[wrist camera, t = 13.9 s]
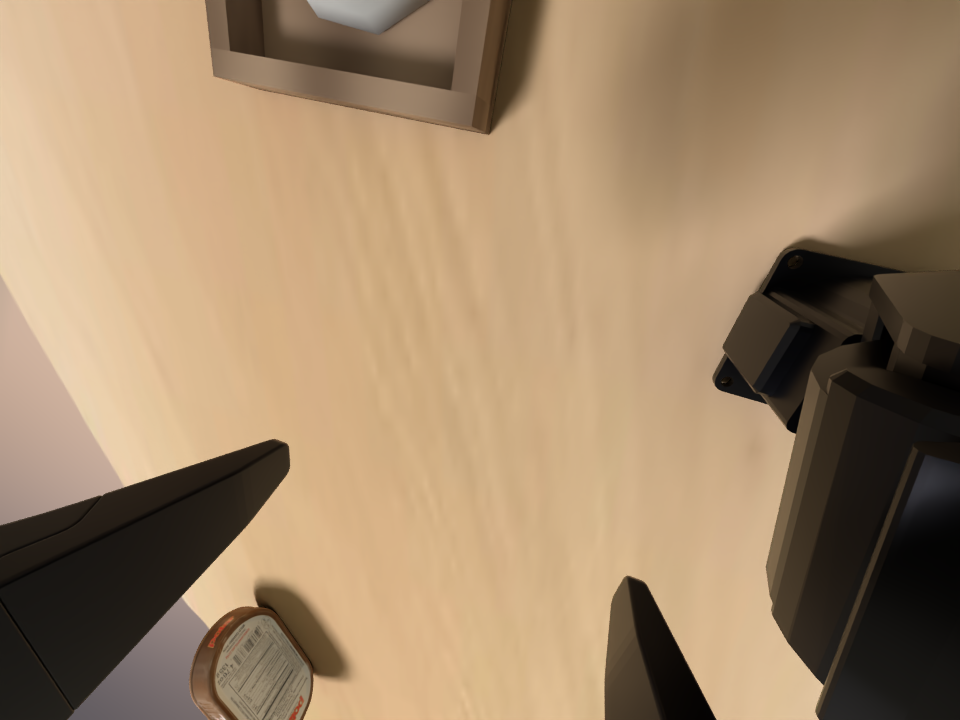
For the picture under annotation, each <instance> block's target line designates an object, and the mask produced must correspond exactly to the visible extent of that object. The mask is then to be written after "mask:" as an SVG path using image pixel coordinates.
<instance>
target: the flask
mask: <svg viewBox="0 0 960 720" xmlns="http://www.w3.org/2000/svg"><path fill="white" fill-rule="evenodd" d="M307 1H308V3H309V4H310V6H311V7H312V9H313V10H314V12H315V13H316V15H317V16H318V18H322V19H325V20H329V21H332V22H336V23H339V24H342V25H346V26H349V27H353V28H356V29H360V30H363V31H367V32H370V33H373V34H377V35H379V34H381V33H382V32H384V31H385V30H387V29H388V28H390V27H391V26H393V25H394V24H396V23H397V22H398V21H400V20H401V19H403V18H404V17H406V16H407V15H409V14H410V13H412V12H413V11H415V10H416V9H418V8H419V7H421V6H422V5H423V4H425V3H426V2H428V1H429V0H307Z"/></svg>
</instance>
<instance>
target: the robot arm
mask: <svg viewBox="0 0 960 720" xmlns="http://www.w3.org/2000/svg"><path fill="white" fill-rule="evenodd" d="M793 256H798V258H799V260H798V263H797V264H796V265H794V266H792V267H788V265H787V263H788V260H789V259H790V258H791V257H793ZM723 350H724V352H725V354H724V356H723V358H722V360H721V362H720V364H719V365H718V367H717V369H716V371H715V373H714V375H713V378H712V379H713V383H714V384H715V386H716V387H717V389H719V390H721V391H724V392H727V393H730V394H734V395H737V396H741V397H744V398H748V399H751V400H755V401H758V402H761V403H765V404H768V405H769V406H770V407H771V409H772V410H773V411H774V413H775V414H776V415H777V416H778V418H779V419H780V420H781V422H782V423H783V424H784V426H785V427H786V428H787V429H788V430H789V431H790V432H792V433H795V434H796V437H795V441H794V446H793V450H792V454H791V459H790V463H789V468H788V472H787V476H786V481H785V485H784V490H783V494H782V498H781V503H780V507H779V512H778V516H777V520H776V525H775V529H774V534H773V538H772V542H771V547H770V551H769V556H768V560H767V564H766V571H767V578H768V586H769V593H770V597H771V600H772V602H773V605H772V609H771V611H772V615H773V617H774V619H775V621H776V623H777V624H778V626H779V628H780V630H781V631H782V633H783V635H784V637H785V639H786V640H787V642H788V643H789V645H790V646H791V647H792V648H793V650H794V651H795V652H796V653H797V655H798V656H799V657H800V658H801V660H802V661H803V662H804V663H805V664H806V666H807V667H808V668H809V669H810V671H811V672H812V673H813V674H814V676H815V677H816V678H817V679H818V680H819V681H820V682H821V683H822V684H823V685H824V687H823V689H822V692H821V695H820V698H819V700H818V703H817V706H816V711H815V712H816V715H817V717H818V718H819V720H960V270H949V271H931V272H912V273H910V272H905V271H901V270H896V269H891V268H887V267H882V266H878V265H873V264H869V263H864V262H860V261H855V260H850V259H846V258H841V257H837V256H832V255H828V254H823V253H819V252H814V251H809V250H805V249H800V248H790V249H786V250H785V251H783V252H782V253H780V255H779V256H778V257H777V259H776V261H775V263H774V264H773V266H772V268H771V270H770V272H769V274H768V275H767V277H766V279H765V281H764V283H763V285H762V286H761V288H760V290H759V292H756V293H754V294H752V295H750V296H749V298H748V300H747V302H746V303H745V305H744V307H743V309H742V311H741V313H740V315H739V316H738V318H737V320H736V322H735V324H734V326H733V328H732V330H731V331H730V333H729V335H728V337H727V339H726V341H725V343H724V344H723ZM725 377H731V380H730V381H729V382H727V383H722V382H721V380H722V379H723V378H725ZM289 469H290V455H289V446H288V444H287V443H284V442H282V441H279V440H276V439H271V440H268V441H265V442H262V443H259V444H256V445H253V446H250V447H246V448H243V449H240V450H237V451H234V452H231V453H228V454H225V455H222V456H219V457H216V458H213V459H210V460H207V461H204V462H201V463H198V464H194V465H191V466H188V467H185V468H182V469H179V470H176V471H173V472H170V473H167V474H164V475H161V476H158V477H155V478H152V479H149V480H145V481H142V482H139V483H136V484H133V485H130V486H127V487H124V488H121V489H118V490H115V491H112V492H109V493H106V494H104V495H103V496H96V497H93V498H90V499H87V500H84V501H81V502H78V503H75V504H71V505H68V506H65V507H62V508H59V509H56V510H52V511H49V512H46V513H43V514H39V515H36V516H32V517H28V518H25V519H22V520H18V521H14V522H11V523H7V524H4V525H0V720H67V719H68V718H69V717H70V716H71V715H72V714H73V713H74V710H75V709H77V708H78V707H79V706H80V705H81V704H82V703H83V702H84V701H85V700H86V699H87V697H88V696H89V695H90V694H91V693H92V692H93V691H94V690H95V689H96V688H97V686H99V684H100V683H101V682H102V681H103V680H104V679H105V678H106V677H107V676H108V675H109V674H110V673H111V671H113V669H114V668H115V667H116V666H117V665H118V664H119V663H120V662H121V661H122V660H123V659H124V658H125V656H126V655H127V654H128V653H129V652H130V651H131V650H132V649H133V648H134V647H135V646H136V645H137V644H138V643H139V642H140V640H141V639H142V638H143V637H144V636H145V635H146V634H147V633H148V632H149V631H150V630H151V629H152V627H153V626H154V625H155V624H156V623H157V622H158V621H159V620H160V619H161V618H162V617H163V616H164V614H166V612H167V611H168V610H169V609H170V608H171V607H172V606H173V605H174V604H175V603H176V602H177V601H178V599H179V598H180V597H181V596H182V595H183V594H184V593H185V592H186V591H187V590H188V589H189V588H190V587H191V586H192V584H193V583H194V582H195V581H196V580H197V579H198V578H199V577H200V576H201V575H202V574H203V573H204V572H205V570H206V569H207V568H208V567H209V566H210V565H211V564H212V563H213V562H214V561H215V560H216V559H217V558H218V557H219V555H220V554H221V553H222V552H223V551H224V550H225V549H226V548H227V547H228V546H229V545H230V544H231V543H232V541H233V540H234V539H235V538H236V537H237V536H238V535H239V534H240V533H241V532H242V531H243V530H244V528H245V527H246V526H247V525H248V524H249V523H250V521H251V520H252V519H253V518H254V517H255V515H256V514H257V513H258V511H259V510H260V509H261V508H262V506H263V505H264V504H265V502H266V501H267V500H268V499H269V497H270V496H271V495H272V493H273V492H274V491H275V489H276V488H277V487H278V486H279V484H280V483H281V482H282V480H283V479H284V478H285V476H286V475H287V473H288V472H289ZM605 720H716V718H715V716H714V714H713V712H712V710H711V708H710V706H709V704H708V702H707V701H706V699H705V697H704V695H703V693H702V691H701V689H700V687H699V685H698V683H697V681H696V679H695V677H694V675H693V673H692V671H691V670H690V668H689V666H688V664H687V662H686V660H685V658H684V656H683V654H682V652H681V650H680V648H679V646H678V644H677V642H676V640H675V639H674V637H673V635H672V633H671V631H670V629H669V627H668V625H667V623H666V621H665V619H664V617H663V615H662V613H661V611H660V609H659V608H658V606H657V604H656V602H655V600H654V598H653V596H652V594H651V592H650V590H649V588H648V586H647V585H646V583H645V582H643V581H642V580H639V579H636V578H634V577H631V576H626V577H624V579H623V580H622V582H621V584H620V586H619V587H618V589H617V591H616V592H615V594H614V596H613V599H612V603H611V611H610V623H609V634H608V646H607V657H606V668H605Z"/></svg>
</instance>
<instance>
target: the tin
mask: <svg viewBox="0 0 960 720" xmlns="http://www.w3.org/2000/svg"><path fill="white" fill-rule="evenodd" d="M189 688H190V694H191V697H192V700H193V701H194V703H195V705H196V706H197V707H198V708H199V709H200V710H201V712H202V713H203V714H204V715H205V716H206V717H207V718H208V720H303V718H304V716H305V714H306V711H307V709H308V707H309V704H310V701H311V697H312V691H313V671H312V666H311V664H310V662H309V660H308V658H307V657H306V655H305V654H304V652H303V651H302V650H301V648H300V647H299V645H298V644H297V642H296V641H295V639H294V638H293V637H292V635H291V634H290V632H289V631H288V629H287V628H286V626H285V625H284V623H283V622H282V620H281V619H280V618H279V616H278V615H277V614H276V613H275V612H274V611H272V610H270V609H268V608H261V607H240V608H237V609H235V610H232V611H230V612H229V613H227V614H226V615H224V616H223V617H222V618H220V619H219V620H218V621H217V622H216V623H215V624H214V625H213V626H212V627H211V629H210V630H209V631H208V633H207V634H206V635H205V637H204V638H203V640H202V641H201V643H200V645H199V647H198V649H197V651H196V654H195V656H194V659H193V662H192V665H191V670H190V678H189Z"/></svg>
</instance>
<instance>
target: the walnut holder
mask: <svg viewBox="0 0 960 720" xmlns="http://www.w3.org/2000/svg"><path fill="white" fill-rule="evenodd" d="M205 3H206V12H207V21H208V30H209V39H210V48H211V57H212V66H213V75H214V76H215V77H218V78H222V79H225V80H228V81H232V82H235V83H239V84H242V85H246V86H249V87H252V88H256V89H259V90H264V91H269V92H274V93H280V94H285V95H290V96H295V97H300V98H305V99H310V100H315V101H320V102H325V103H330V104H335V105H340V106H345V107H351V108H356V109H361V110H366V111H371V112H376V113H381V114H386V115H391V116H396V117H401V118H406V119H411V120H417V121H422V122H427V123H432V124H437V125H442V126H447V127H452V128H457V129H462V130H467V131H472V132H477V133H482V134H488V135H489V132H490V126H491V120H492V114H493V108H494V103H495V97H496V91H497V85H498V79H499V73H500V68H501V62H502V56H503V50H504V44H505V38H506V33H507V27H508V21H509V15H510V9H511V3H512V0H429V1H428V2H426V3H425V4H423V5H422V6H421V7H419V8H418V9H416V10H415V11H413V12H412V13H410V14H409V15H407V16H406V17H404V18H403V19H401V20H400V21H398V22H397V23H396V24H394V25H393V26H391V27H390V28H388V29H387V30H385V31H384V32H382V33H381V34H379V35H377V34H373V33H370V32H367V31H363V30H360V29H356V28H353V27H349V26H346V25H342V24H339V23H336V22H332V21H329V20H325V19H322V18H318V16H317V15H316V13H315V12H314V10H313V9H312V7H311V6H310V4H309V3H308V1H307V0H205Z"/></svg>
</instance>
